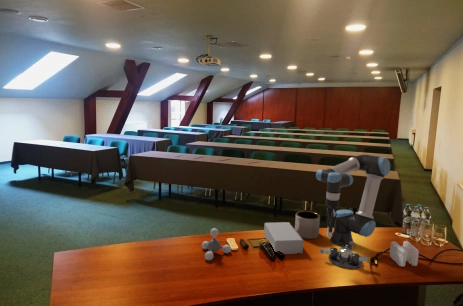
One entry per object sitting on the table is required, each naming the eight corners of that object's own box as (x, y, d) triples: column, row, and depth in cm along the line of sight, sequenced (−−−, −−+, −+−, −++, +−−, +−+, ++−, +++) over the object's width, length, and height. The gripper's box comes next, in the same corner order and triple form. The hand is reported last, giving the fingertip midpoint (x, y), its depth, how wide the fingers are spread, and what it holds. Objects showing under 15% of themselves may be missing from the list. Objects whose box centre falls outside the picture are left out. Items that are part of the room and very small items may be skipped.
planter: (319, 232, 245) (321, 212, 242) (317, 241, 229) (319, 220, 226) (296, 228, 251) (297, 209, 248) (292, 237, 234) (293, 216, 232)
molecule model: (201, 269, 201) (214, 251, 190) (190, 248, 208) (201, 230, 197) (225, 259, 214) (238, 242, 203) (213, 240, 222) (225, 222, 211)
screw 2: (350, 265, 194) (351, 255, 193) (351, 261, 198) (351, 252, 197) (369, 268, 191) (370, 259, 190) (369, 265, 195) (370, 255, 194)
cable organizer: (418, 268, 195) (420, 251, 193) (401, 268, 195) (403, 250, 193) (403, 256, 210) (406, 240, 208) (388, 256, 209) (390, 239, 207)
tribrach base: (321, 256, 206) (322, 245, 205) (344, 250, 216) (345, 239, 214) (345, 272, 189) (347, 259, 188) (369, 264, 198) (370, 252, 197)
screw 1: (350, 256, 205) (351, 247, 204) (343, 254, 208) (344, 245, 207) (354, 250, 214) (355, 241, 213) (347, 248, 216) (348, 239, 215)
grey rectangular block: (335, 256, 204) (336, 247, 203) (337, 259, 200) (338, 250, 199) (319, 255, 205) (320, 246, 204) (321, 259, 200) (321, 250, 199)
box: (288, 234, 240) (289, 222, 238) (302, 253, 210) (303, 239, 209) (264, 235, 237) (264, 222, 236) (274, 254, 208) (275, 240, 206)
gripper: (342, 202, 183) (338, 241, 187) (335, 195, 196) (332, 232, 200) (329, 202, 183) (325, 241, 187) (323, 195, 196) (320, 231, 200)
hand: (329, 236), depth 193 cm, fingers closed
